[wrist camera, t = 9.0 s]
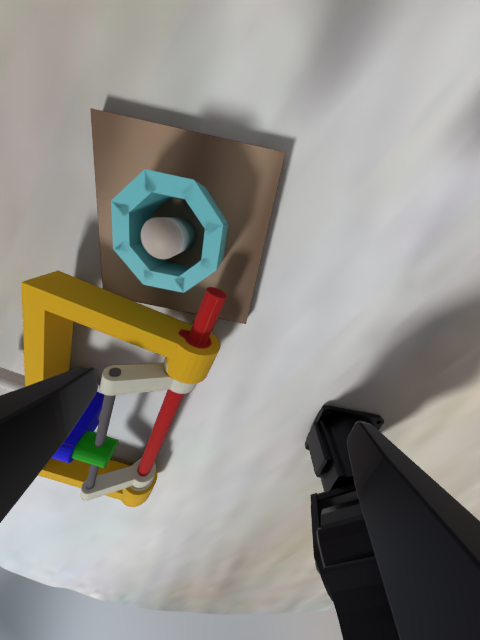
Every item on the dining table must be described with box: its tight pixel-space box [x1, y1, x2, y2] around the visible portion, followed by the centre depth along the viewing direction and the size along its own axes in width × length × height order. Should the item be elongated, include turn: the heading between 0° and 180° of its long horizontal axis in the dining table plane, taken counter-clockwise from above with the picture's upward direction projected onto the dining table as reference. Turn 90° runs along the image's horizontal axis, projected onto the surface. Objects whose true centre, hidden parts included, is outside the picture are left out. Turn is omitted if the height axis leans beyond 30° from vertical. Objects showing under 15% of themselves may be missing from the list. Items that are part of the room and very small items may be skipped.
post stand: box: [90, 108, 285, 324], centre depth 15 cm, size 12×12×5 cm
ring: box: [111, 169, 229, 293], centre depth 15 cm, size 6×6×3 cm
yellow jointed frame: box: [0, 271, 227, 507], centre depth 20 cm, size 18×6×30 cm
